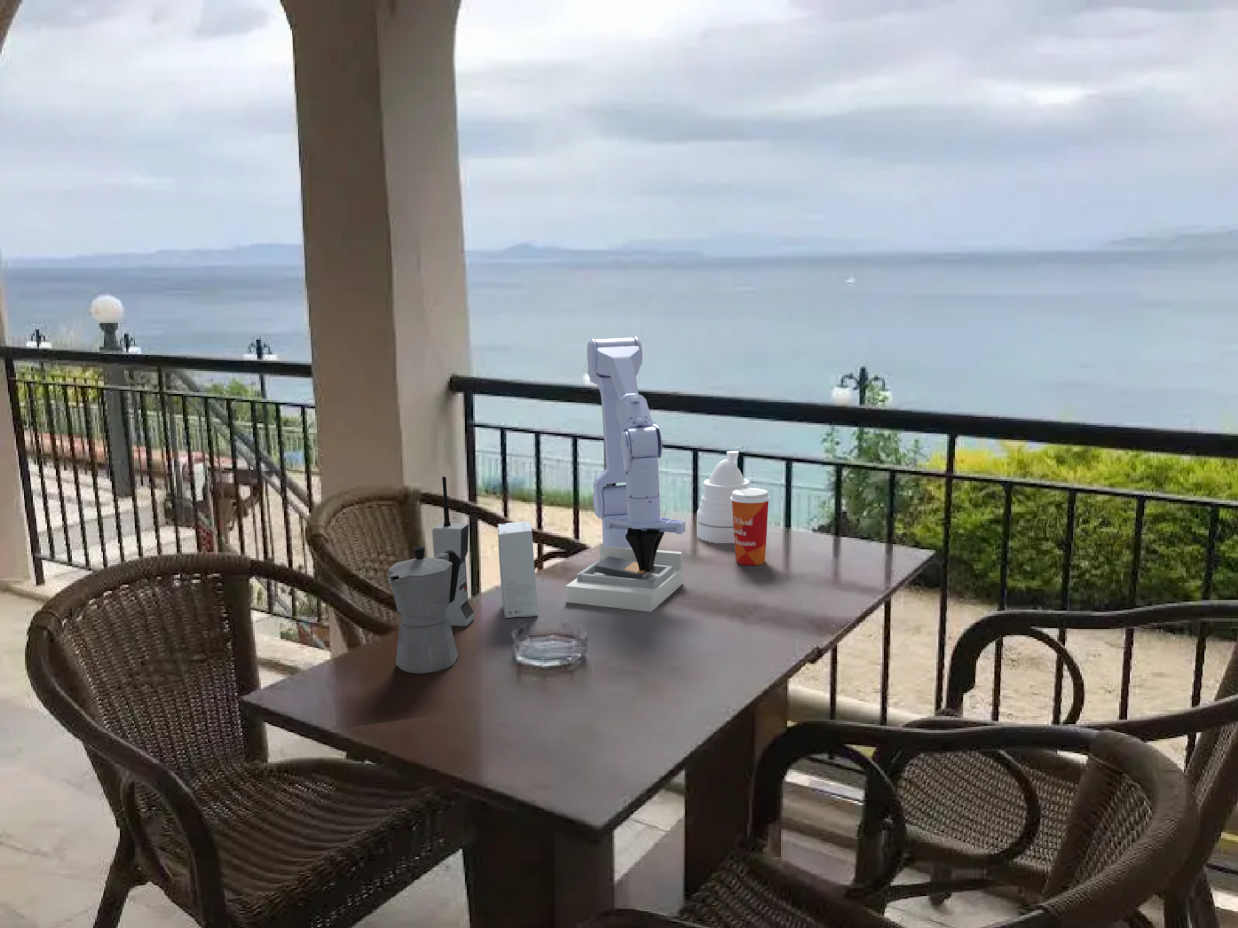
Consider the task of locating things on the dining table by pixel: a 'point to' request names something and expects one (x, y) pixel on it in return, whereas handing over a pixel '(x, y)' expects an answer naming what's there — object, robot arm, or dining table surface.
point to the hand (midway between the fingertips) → (646, 570)
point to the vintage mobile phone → (457, 540)
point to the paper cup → (750, 525)
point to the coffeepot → (425, 610)
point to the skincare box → (517, 569)
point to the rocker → (622, 568)
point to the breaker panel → (627, 582)
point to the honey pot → (720, 501)
